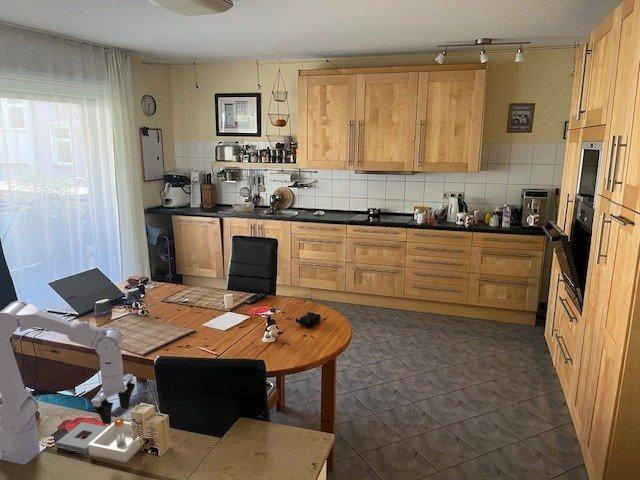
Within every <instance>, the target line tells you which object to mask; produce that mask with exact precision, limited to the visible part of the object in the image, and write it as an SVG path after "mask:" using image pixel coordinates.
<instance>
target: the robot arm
mask: <svg viewBox="0 0 640 480" xmlns="http://www.w3.org/2000/svg"><path fill="white" fill-rule="evenodd" d="M34 328H37V329H42V330H46V331H49V332H53V333H57V334H62V335H65V336H67V337H68V341H70V342H72V343H74V344H77V345H80V346H84V347H87V348H90V349H93V350H95V352H96V354H97V355H99V356H98V357H99V367H100V377H101V378H100V379H101V388H100V390H99V391H98V393H97V394H96V395H95V397H94V398H92V400H91V401H92V402H91V407H92V408H93V409H95V410H96V411H97V413H98V415H99V417H100V419H101V421H102V423H103V424H104V425H111V424H112V410H113V406H114V402H110V401H109V400H108V399H109V398H111V397H114V396H115V395H117V396H118V401H119V406H120V408H121V409H123V410H128V409H129V407H130V403H131V402H130V401H131V397H132V394H133V392H134V390H135V388H136V384H135V383H132V382H133V381H134V376H133V374H130V373H126V374H125V375H124V367H123V366H124V365H123V356H122V348H121V344H122V342H123V334H122V333H121V332H120V330H118V329H116V328H113V327H108V328H105V327H102V328H101V327H98V326H96V325H93V324H90V321H88V320H84V321H76V322H72V321H68V320H66V319H63V318H61V317H59V316H56V315H54V314H51V313H49V312H47V311H44V310H41V309H39V308H38V307H37V306H36V305H34V304H33V303H32V304H30V303H26V302H24V301H21V300H15V301H11V302H10V303H9V304H8V305H7V306H6V307H4V308H3V309H2V310H0V396H1V400H2V401H1V404H0V460H3V461H7V462H10V463H14V464H20V465H23V466H24V465H27V464H28V463H29V462H31V461H32V460H33V459H34V458H36V457H37V456H38V455H39V454H41V453H42V452H43V451H45V450H46V449H47V448H46V446H44V447H43V446H41V445H40V444H41V443H40V439H39V432H38V426H37V425H38V423H37V418H36V412H37V411H38V410H39V402H38V400H37V399H36V398H34V396H33V394H32V392H31V391H30V390H27V389H25V385H24V381H23V379H22V376H21V372H20V370H19V366H18V363H17V359H16V356H15V353H14V351H13V347H12V343H11V340H10V338H12V336H13V334H14V333H15V332H16V331H17V330H18V329H19V332H24V331H27V330H30V329H34Z"/></svg>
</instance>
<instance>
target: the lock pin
mask: <svg viewBox="0 0 640 480" xmlns="http://www.w3.org/2000/svg"><path fill="white" fill-rule="evenodd" d="M114 424H115V433H116V443H117V446H119V447H120V446H123V445H125V444H126V441H125V431H124V418H122V417H121V418H119V417H118V418H116V419H115V420H114Z"/></svg>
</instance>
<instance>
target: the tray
mask: <svg viewBox="0 0 640 480" xmlns="http://www.w3.org/2000/svg"><path fill="white" fill-rule="evenodd" d="M123 421H124V420H123ZM131 423H132V422H130V421H124V431H125V441H126V444H125V445H123V446H120V447H119V446H117V443H116V433H115V424H114V422H111V423H110V424H109V425H108V426H107V427H108V428H107V429H105V430H104V431H103V432H102V433H101V434H100V435H98V436H97V437H96V438H95V439H94V440H93V441H91V442H90V443H89V444H88V449H89V453H88V455H89V456H91V457H95V458H100V459H104V460H105V459H106V460H109V461H114V462H119V463H124V464H127V463H128V462H129V461H130V460H131V459H132V458H133V457H134V456H135V454H136V453H137V452H139V451H140V449H141V448H140V438H139V437H137V438H136V439H135V440H134V441H133V438H132V424H131Z"/></svg>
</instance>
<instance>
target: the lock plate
mask: <svg viewBox="0 0 640 480" xmlns="http://www.w3.org/2000/svg"><path fill="white" fill-rule="evenodd" d="M108 427H109V426H103V425H98V424H93V423H89V422H88V423H87V422H82V421H81V422H80V423H79V424H77V426H75V427H74V428H73V429H71V430H70V431H68V432H67V433H66V434H64V435H63V436H62V437H61V438H60V439H58V440H57V441H56V445H55V446H56V448H57V447H64V448H68V449H71V450H74V451H75V452H74V453H77V454H81V455H85V456H87V455H89V449H88V444H89V443H90V442H91V441H93V440H94V439H95V438H96V437H97V436H98V435H100V434H101V433H102V432H103V431H104V430H105V429H107V428H108ZM82 435H87V436H88V437H86V438H81V439H79V438H80V437H81V436H82Z"/></svg>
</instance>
